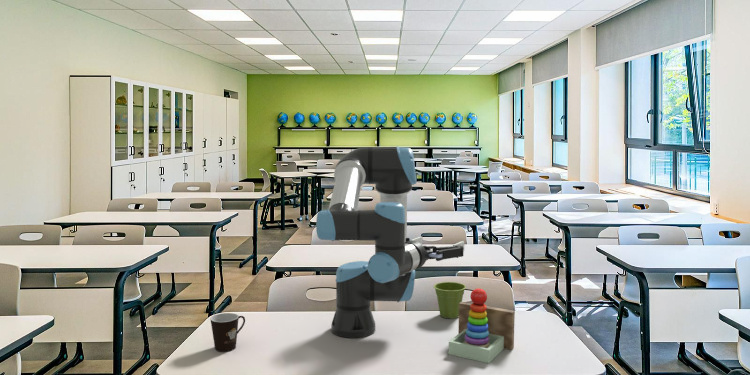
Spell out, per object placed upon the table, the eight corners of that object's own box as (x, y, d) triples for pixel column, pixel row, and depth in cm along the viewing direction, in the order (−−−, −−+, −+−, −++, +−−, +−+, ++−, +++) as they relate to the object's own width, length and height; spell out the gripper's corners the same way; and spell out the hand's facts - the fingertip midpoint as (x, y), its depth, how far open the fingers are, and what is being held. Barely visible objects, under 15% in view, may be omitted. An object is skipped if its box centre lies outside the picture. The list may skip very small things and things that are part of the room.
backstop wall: (458, 338, 188) (458, 303, 186) (460, 336, 189) (461, 301, 188) (511, 349, 178) (512, 312, 177) (513, 347, 180) (514, 310, 179)
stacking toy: (484, 354, 172) (485, 294, 170) (459, 349, 176) (460, 290, 174) (493, 345, 179) (494, 287, 177) (469, 341, 183) (470, 284, 181)
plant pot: (447, 308, 219) (447, 279, 218) (472, 316, 210) (472, 286, 209) (426, 315, 211) (427, 285, 210) (451, 323, 202) (452, 292, 201)
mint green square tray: (448, 354, 175) (448, 341, 174) (464, 340, 186) (465, 328, 185) (489, 363, 168) (489, 350, 168) (503, 348, 179) (503, 336, 179)
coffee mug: (214, 355, 174) (213, 323, 173) (208, 345, 182) (207, 315, 181) (252, 348, 179) (251, 317, 178) (244, 339, 187) (244, 310, 186)
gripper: (368, 265, 159) (404, 250, 177) (451, 277, 146) (481, 260, 164) (368, 238, 158) (405, 227, 176) (451, 248, 145) (481, 234, 163)
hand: (441, 243), depth 170 cm, fingers open, 13 cm apart
